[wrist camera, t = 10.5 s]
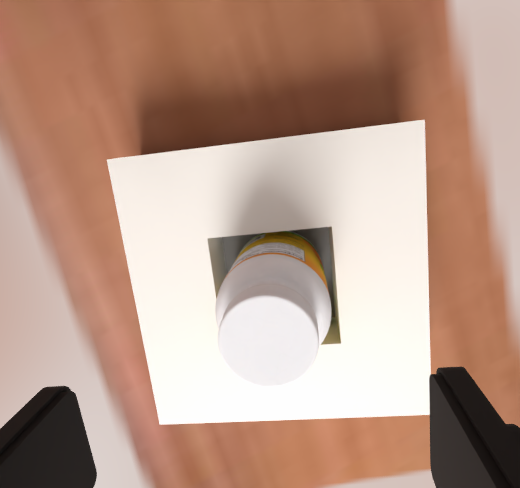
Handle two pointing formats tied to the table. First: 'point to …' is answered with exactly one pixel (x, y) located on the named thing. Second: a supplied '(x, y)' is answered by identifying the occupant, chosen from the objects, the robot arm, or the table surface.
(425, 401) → the socket block
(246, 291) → the supplement bottle
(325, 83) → the table surface
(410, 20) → the table surface
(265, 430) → the table surface
